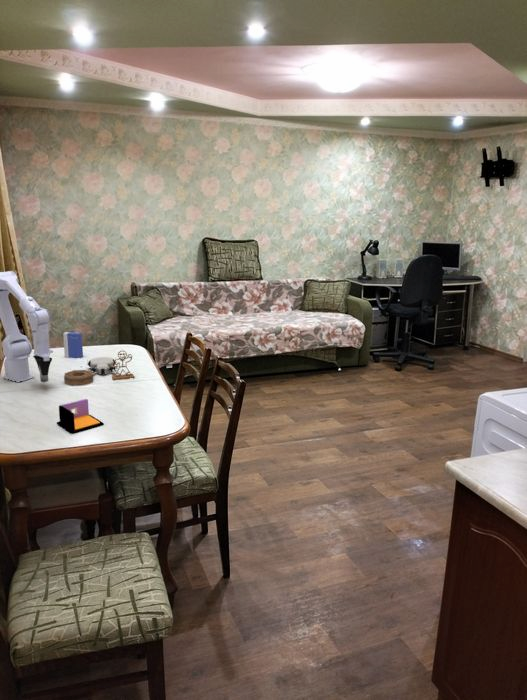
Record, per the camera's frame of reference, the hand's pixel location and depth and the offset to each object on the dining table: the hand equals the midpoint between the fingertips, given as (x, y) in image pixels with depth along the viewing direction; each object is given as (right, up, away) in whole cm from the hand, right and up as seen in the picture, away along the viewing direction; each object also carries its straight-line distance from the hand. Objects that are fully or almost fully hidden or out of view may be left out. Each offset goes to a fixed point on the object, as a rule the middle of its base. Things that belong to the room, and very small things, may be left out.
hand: (43, 373), depth 215 cm
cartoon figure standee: (+28, -3, +14) cm, 31 cm away
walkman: (-2, +6, +41) cm, 42 cm away
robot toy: (+17, 0, +23) cm, 28 cm away
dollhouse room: (+25, -16, -33) cm, 44 cm away
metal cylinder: (0, -3, +1) cm, 3 cm away
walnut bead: (+11, -3, +9) cm, 15 cm away
